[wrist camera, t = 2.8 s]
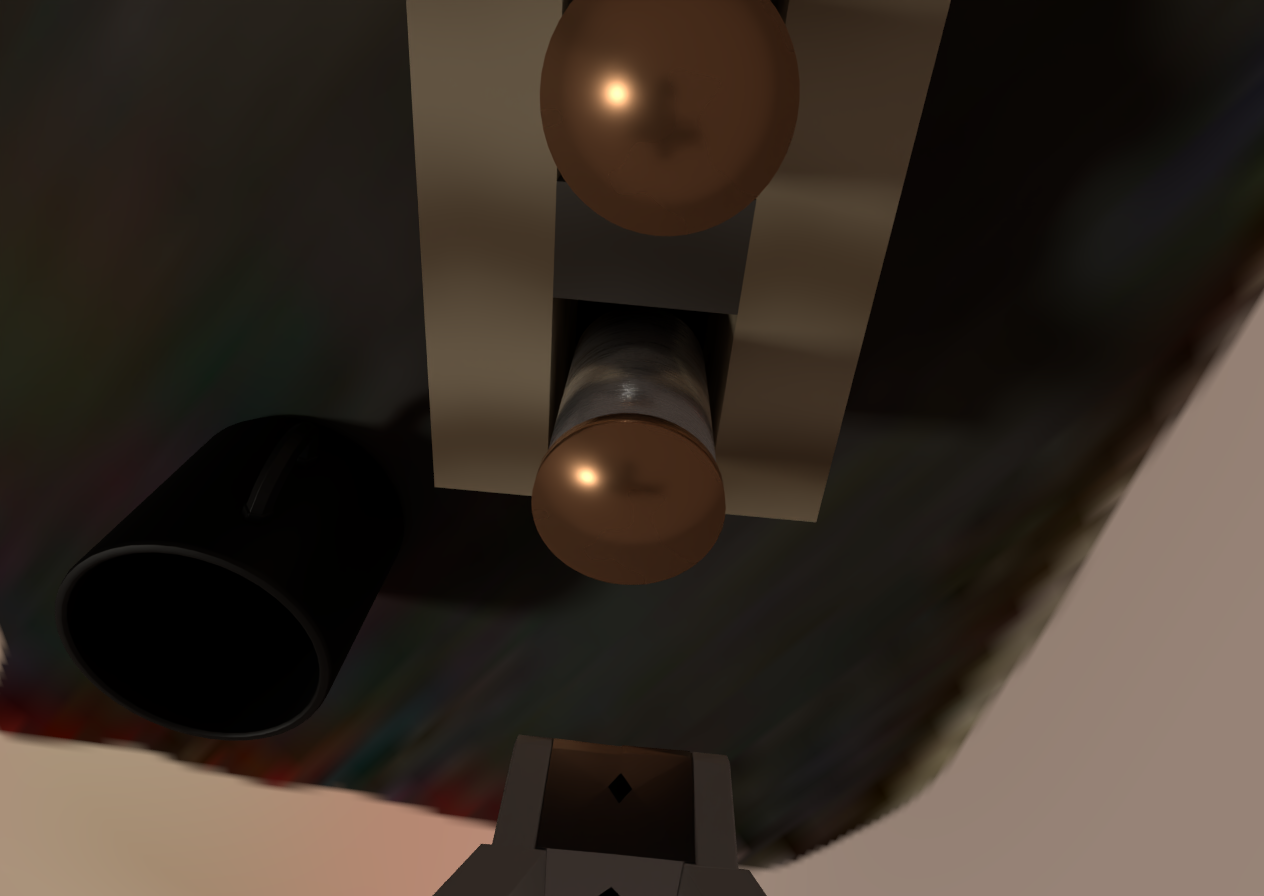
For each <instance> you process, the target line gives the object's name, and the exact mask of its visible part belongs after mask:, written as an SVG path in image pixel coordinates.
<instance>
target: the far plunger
mask: <svg viewBox="0 0 1264 896" xmlns="http://www.w3.org/2000/svg"><path fill="white" fill-rule="evenodd" d="M531 503H532V514H533V518H534V522H535V525H536V528H537V530H538V532H539V534H540V536H541V538H542V540H543V541H544V543H545V544H546V545H547V547H548V548H549V549H550V550H551V551H552V552H553V553H554V555H555V556H556V557H557V558H559V559H560V560H561V561H562V562H564V563H565V564H566V565H568V566H569V567H571V568H572V569H574V570H576V571H577V572H580V573H582V574H584V575H586V576H588V577H591V578H594V579H597V580H600V581H604V582H608V583H615V584H624V585H638V584H648V583H654V582H659V581H662V580H666V579H669V578H671V577H674V576H676V575H679V574H680V573H682V572H684V571H686V570H688V569H689V568H691V567H692V566H694V565H695V564H697V563H698V562H699V561H700V560H701V559H702V558H703V557H704V556H705V555H706V554H707V553H708V552H709V551H710V549H711V548H712V547H713V545H714V544H715V542H716V541H717V539H718V537H719V535H720V532H721V530H722V527H723V523H724V519H725V511H726V504H725V492H724V485H723V480H722V476H721V472H720V470H719V467H718V465H717V463H716V455H715V447H714V438H713V430H712V421H711V412H710V404H709V395H708V386H707V378H706V369H705V361H704V355H703V350H702V348H701V345H700V343H699V341H698V339H697V337H696V335H695V334H694V333H693V331H692V330H691V329H690V327H689V326H688V325H687V324H686V323H685V322H683V321H682V320H681V319H680V318H678V317H677V316H675V315H673V314H672V313H670V312H668V311H665V310H663V309H660V308H656V307H649V306H638V305H631V306H624V307H620V308H616V309H614V310H611V311H609V312H607V313H605V314H603V315H601V316H600V317H598V318H597V319H596V320H594V321H593V322H592V323H591V324H590V325H589V326H588V327H587V329H586V330H585V331H584V332H583V334H582V336H581V337H580V339H579V341H578V343H577V346H576V349H575V353H574V356H573V360H572V364H571V367H570V371H569V375H568V379H567V382H566V386H565V390H564V393H563V397H562V401H561V404H560V408H559V412H558V416H557V419H556V423H555V427H554V430H553V434H552V438H551V441H550V445H549V449H548V451H547V452H546V454H545V455H544V457H543V459H542V461H541V463H540V466H539V468H538V472H537V475H536V479H535V483H534V486H533V490H532V500H531Z"/></svg>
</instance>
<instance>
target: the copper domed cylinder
mask: <svg viewBox="0 0 1264 896" xmlns="http://www.w3.org/2000/svg"><path fill="white" fill-rule="evenodd" d="M799 101H800V80H799V72H798V63H797V59H796V55H795V51H794V47H793V43H792V40H791V38H790V35H789V33H788V30H787V28H786V25H785V23H784V22H783V20H782V18H781V16H780V14H779V13H778V11H777V9H776V8H775V6H774V5H773V4H772V2H771V1H770V0H573V1H572V2H571V3H570V5H569V6H568V8H567V9H566V11H565V12H564V14H563V15H562V17H561V18H560V20H559V22H558V24H557V26H556V28H555V30H554V32H553V35H552V37H551V39H550V42H549V45H548V48H547V51H546V54H545V58H544V63H543V68H542V73H541V83H540V113H541V119H542V125H543V131H544V134H545V138H546V141H547V145H548V148H549V150H550V153H551V155H552V158H553V160H554V162H555V164H556V166H557V168H558V170H559V171H560V173H561V175H562V177H563V178H564V180H565V181H566V182H567V184H568V185H569V187H570V188H571V189H572V191H573V192H574V193H575V194H576V195H577V196H578V197H579V198H580V199H581V200H582V201H583V202H584V203H585V204H586V205H587V206H588V207H589V208H591V209H592V210H593V211H594V212H596V213H597V214H598V215H600V216H602V217H603V218H605V219H606V220H608V221H610V222H611V223H614V224H616V225H618V226H620V227H622V228H625V229H628V230H631V231H634V232H638V233H641V234H647V235H654V236H679V235H688V234H692V233H696V232H700V231H704V230H706V229H709V228H712V227H714V226H717V225H719V224H721V223H723V222H724V221H726V220H728V219H730V218H732V217H733V216H735V215H736V214H738V213H739V212H740V211H742V210H743V209H745V208H746V207H747V206H748V205H749V204H750V203H751V202H752V201H753V200H755V199H756V198H757V197H758V196H759V195H760V193H761V192H762V191H763V190H764V189H765V188H766V186H767V185H768V184H769V183H770V181H771V180H772V178H773V177H774V175H775V174H776V172H777V171H778V169H779V167H780V165H781V163H782V161H783V160H784V158H785V156H786V154H787V151H788V148H789V146H790V143H791V140H792V138H793V134H794V130H795V126H796V122H797V117H798V109H799Z"/></svg>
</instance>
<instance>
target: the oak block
mask: <svg viewBox="0 0 1264 896" xmlns="http://www.w3.org/2000/svg"><path fill="white" fill-rule="evenodd" d="M572 1H573V0H406V4H407V21H408V38H409V55H410V73H411V90H412V107H413V124H414V141H415V158H416V175H417V192H418V210H419V227H420V244H421V261H422V278H423V295H424V312H425V330H426V347H427V364H428V381H429V398H430V415H431V432H432V450H433V467H434V484H435V487H440V488H451V489H462V490H473V491H483V492H494V493H505V494H516V495H527V496H532V490H533V486H534V483H535V479H536V475H537V472H538V468H539V466H540V463H541V461H542V459H543V457H544V455H545V454H546V452H547V451H548V449H549V445H550V441H551V438H552V434H553V430H554V427H555V423H556V419H557V416H558V412H559V408H560V404H561V401H562V397H563V393H564V390H565V386H566V382H567V379H568V375H569V371H570V367H571V364H572V360H573V356H574V353H575V348H576V328H577V308H578V300H586V301H596V302H607V303H617V304H628V305H638V306H649V307H659V308H670V309H681V310H691V311H702V312H708V318H707V325H706V332H705V339H704V346H703V355H704V361H705V369H706V378H707V386H708V395H709V404H710V412H711V421H712V430H713V438H714V447H715V455H716V463H717V465H718V467H719V470H720V472H721V476H722V480H723V485H724V492H725V504H726V511H725V514H733V515H744V516H755V517H765V518H776V519H787V520H798V521H809V522H816V521H817V517H818V513H819V509H820V505H821V501H822V497H823V493H824V490H825V486H826V482H827V478H828V474H829V470H830V466H831V463H832V459H833V455H834V451H835V447H836V443H837V439H838V435H839V432H840V428H841V424H842V420H843V416H844V412H845V408H846V404H847V401H848V397H849V393H850V389H851V385H852V381H853V377H854V373H855V370H856V366H857V362H858V358H859V354H860V350H861V346H862V342H863V339H864V335H865V331H866V327H867V323H868V319H869V315H870V312H871V308H872V304H873V300H874V296H875V292H876V288H877V284H878V281H879V277H880V273H881V269H882V265H883V261H884V257H885V253H886V250H887V246H888V242H889V238H890V234H891V230H892V226H893V222H894V219H895V215H896V211H897V207H898V203H899V199H900V195H901V192H902V188H903V184H904V180H905V176H906V172H907V168H908V164H909V161H910V157H911V153H912V149H913V145H914V141H915V137H916V133H917V130H918V126H919V122H920V118H921V114H922V110H923V106H924V102H925V99H926V95H927V91H928V87H929V83H930V79H931V75H932V71H933V68H934V64H935V60H936V56H937V52H938V48H939V44H940V41H941V37H942V33H943V29H944V25H945V21H946V17H947V13H948V10H949V6H950V2H951V0H770V1H771V2H772V4H773V5H774V6H775V8H776V9H777V11H778V13H779V14H780V16H781V18H782V20H783V22H784V23H785V25H786V28H787V30H788V33H789V35H790V38H791V40H792V43H793V47H794V51H795V55H796V59H797V63H798V72H799V80H800V101H799V109H798V117H797V122H796V126H795V130H794V134H793V138H792V140H791V143H790V146H789V148H788V151H787V154H786V156H785V158H784V160H783V161H782V163H781V165H780V167H779V169H778V171H777V172H776V174H775V175H774V177H773V178H772V180H771V181H770V183H769V184H768V185H767V186H766V188H765V189H764V190H763V191H762V192H761V193H760V195H759V196H758V197H757V198H756V199H755V200H753V201H752V202H751V203H750V204H749V205H748V206H747V207H746V208H745V209H743V210H742V211H740V212H739V213H738V214H736V215H735V216H733V217H732V218H730V219H728V220H726V221H724V222H723V223H721V224H719V225H717V226H714V227H712V228H709V229H706V230H704V231H700V232H696V233H692V234H688V235H679V236H654V235H647V234H641V233H638V232H634V231H631V230H628V229H625V228H622V227H620V226H618V225H616V224H614V223H611V222H610V221H608V220H606V219H605V218H603V217H602V216H600V215H598V214H597V213H596V212H594V211H593V210H592V209H591V208H589V207H588V206H587V205H586V204H585V203H584V202H583V201H582V200H581V199H580V198H579V197H578V196H577V195H576V194H575V193H574V192H573V191H572V189H571V188H570V187H569V185H568V184H567V182H566V181H565V180H564V178H563V177H562V175H561V173H560V171H559V170H558V168H557V166H556V164H555V162H554V160H553V158H552V155H551V153H550V150H549V148H548V145H547V141H546V138H545V134H544V131H543V125H542V119H541V113H540V83H541V73H542V68H543V63H544V58H545V54H546V51H547V48H548V45H549V42H550V39H551V37H552V35H553V32H554V30H555V28H556V26H557V24H558V22H559V20H560V18H561V17H562V15H563V14H564V12H565V11H566V9H567V8H568V6H569V5H570V3H571V2H572Z"/></svg>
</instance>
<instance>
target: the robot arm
mask: <svg viewBox="0 0 1264 896" xmlns="http://www.w3.org/2000/svg"><path fill="white" fill-rule="evenodd" d="M433 896H766V894H765V893H764V892H763V890H762V888H761V887H760V885H759V884H758V882H757V881H756V880H755V878H754V877H753V875H752V874H751V872H750V871H749V870H744V869H738V858H737V846H736V834H735V822H734V809H733V797H732V785H731V772H730V762H729V760H728V758H727V756H726V755H718V754H707V753H696V752H692V753H691V752H690V751H684V750H672V749H660V748H648V747H636V746H624V745H622V747H619V746H611V745H603V744H595V743H587V742H579V741H571V740H563V739H555V738H546V737H537V736H527V735H518V737H517V740H516V742H515V745H514V748H513V753H512V757H511V762H510V766H509V771H508V775H507V780H506V784H505V789H504V793H503V798H502V802H501V807H500V811H499V816H498V820H497V825H496V829H495V834H494V838H493V843H492V845H490V844H481V845H480V846H479V847H478V848H477V849H476V850H475V851H474V852H473V853H472V854H471V856H470V857H469V858H468V859H467V860H466V861H465V862H464V863H463V864H462V865H461V866H460V867H459V868H458V869H457V870H456V872H455V873H454V874H453V875H452V876H451V877H450V878H449V879H448V880H447V881H446V882H445V883H444V884H443V885H442V886H441V887H440V888H439V889H438V891H437V892H436V893H435V894H434V895H433Z"/></svg>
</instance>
